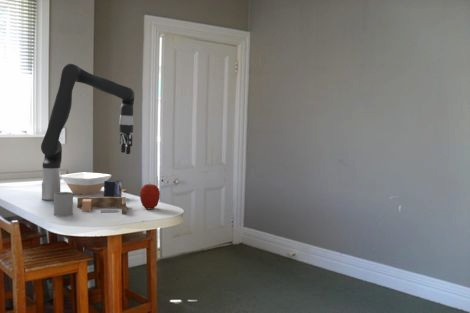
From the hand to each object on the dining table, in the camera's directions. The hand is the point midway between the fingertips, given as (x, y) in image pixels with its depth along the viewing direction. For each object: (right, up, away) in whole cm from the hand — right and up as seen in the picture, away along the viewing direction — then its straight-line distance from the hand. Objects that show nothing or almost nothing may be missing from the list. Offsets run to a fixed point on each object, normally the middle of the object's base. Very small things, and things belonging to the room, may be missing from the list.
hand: (125, 153), depth 282 cm
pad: (-2, -29, -30) cm, 42 cm away
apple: (+17, -29, -20) cm, 39 cm away
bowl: (-29, -24, +24) cm, 44 cm away
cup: (-21, -29, -40) cm, 54 cm away
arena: (-6, -29, -28) cm, 41 cm away
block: (-13, -29, -28) cm, 42 cm away
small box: (-9, -26, +7) cm, 28 cm away
